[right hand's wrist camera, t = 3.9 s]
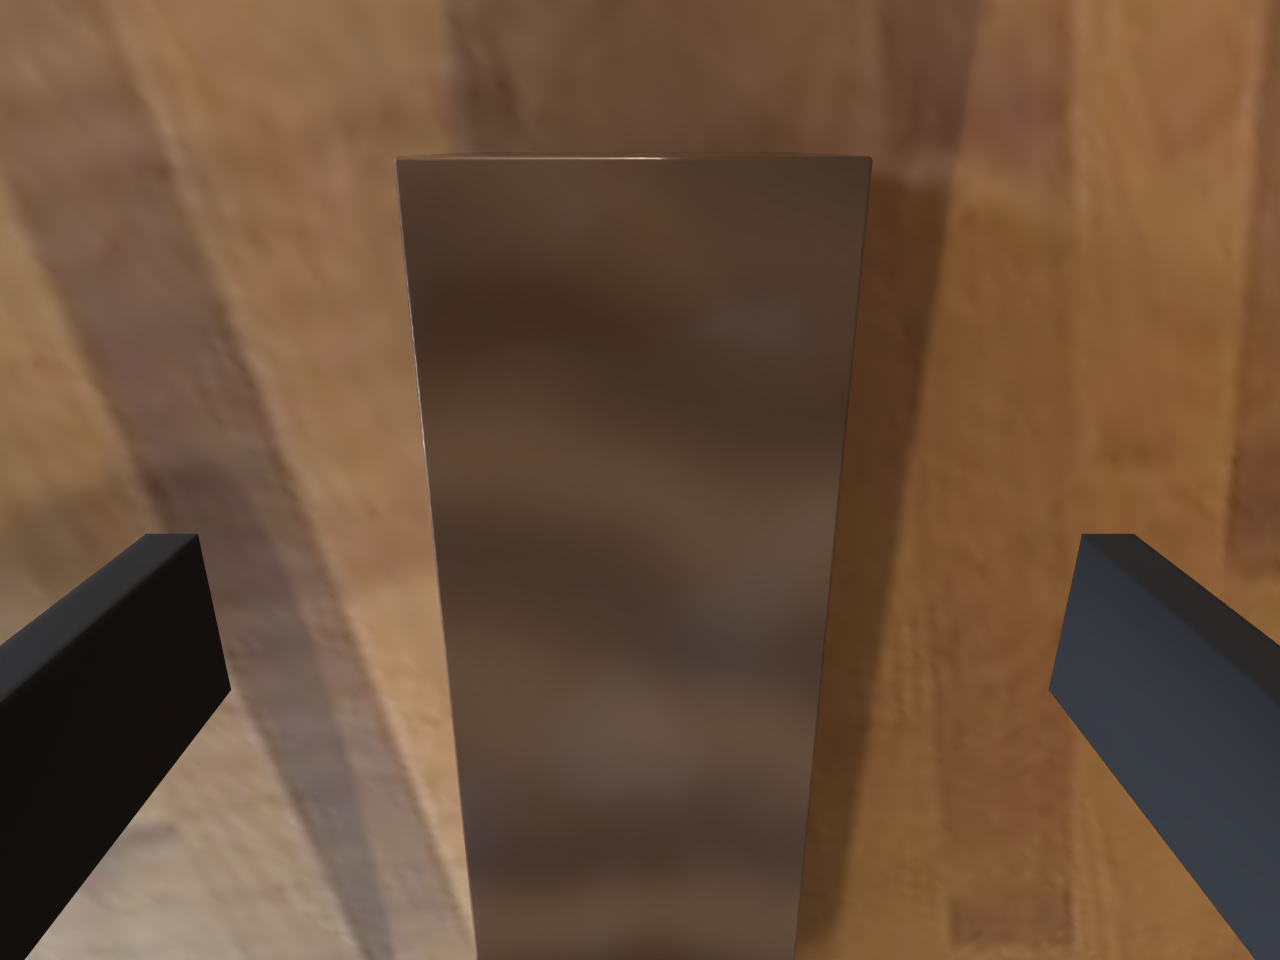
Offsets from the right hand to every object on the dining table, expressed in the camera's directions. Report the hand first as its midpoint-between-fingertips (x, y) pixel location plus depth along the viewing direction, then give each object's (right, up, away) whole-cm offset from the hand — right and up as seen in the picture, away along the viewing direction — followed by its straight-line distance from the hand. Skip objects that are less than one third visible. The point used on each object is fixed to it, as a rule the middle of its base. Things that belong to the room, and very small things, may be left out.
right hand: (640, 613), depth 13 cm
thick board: (0, -17, +22) cm, 28 cm away
